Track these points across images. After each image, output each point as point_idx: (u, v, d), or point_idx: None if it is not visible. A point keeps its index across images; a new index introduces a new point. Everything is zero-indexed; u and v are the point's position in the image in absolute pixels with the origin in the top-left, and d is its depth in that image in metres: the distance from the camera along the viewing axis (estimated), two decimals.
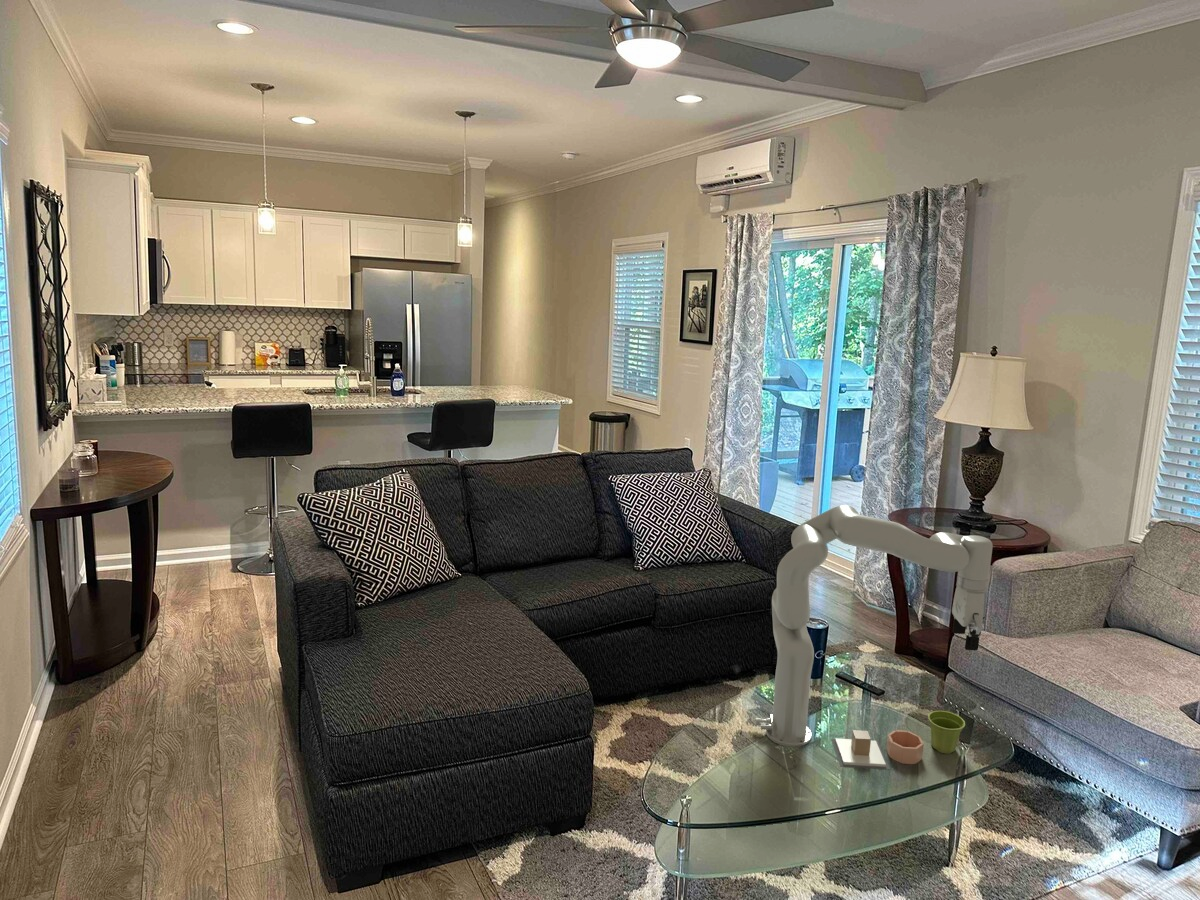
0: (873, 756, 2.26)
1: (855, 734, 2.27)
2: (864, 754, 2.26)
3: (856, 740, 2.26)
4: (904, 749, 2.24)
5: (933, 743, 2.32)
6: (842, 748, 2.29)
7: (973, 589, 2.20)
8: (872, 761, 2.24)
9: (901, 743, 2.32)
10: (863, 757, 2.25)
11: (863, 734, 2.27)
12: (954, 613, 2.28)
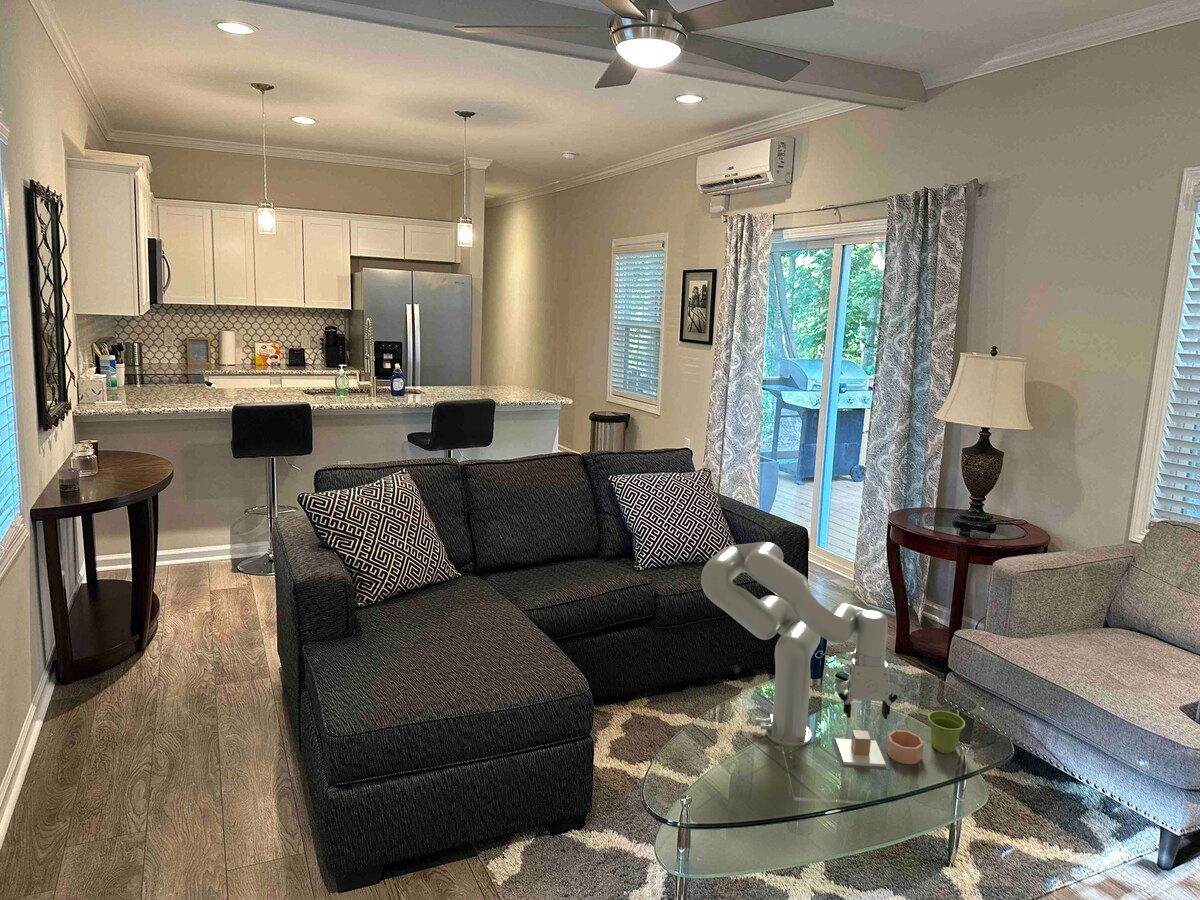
0: (873, 756, 2.26)
1: (855, 734, 2.27)
2: (864, 754, 2.26)
3: (856, 740, 2.26)
4: (904, 749, 2.24)
5: (933, 743, 2.32)
6: (842, 748, 2.29)
7: (884, 661, 2.21)
8: (872, 761, 2.24)
9: (901, 743, 2.32)
10: (863, 757, 2.25)
11: (863, 734, 2.27)
12: (862, 696, 2.21)
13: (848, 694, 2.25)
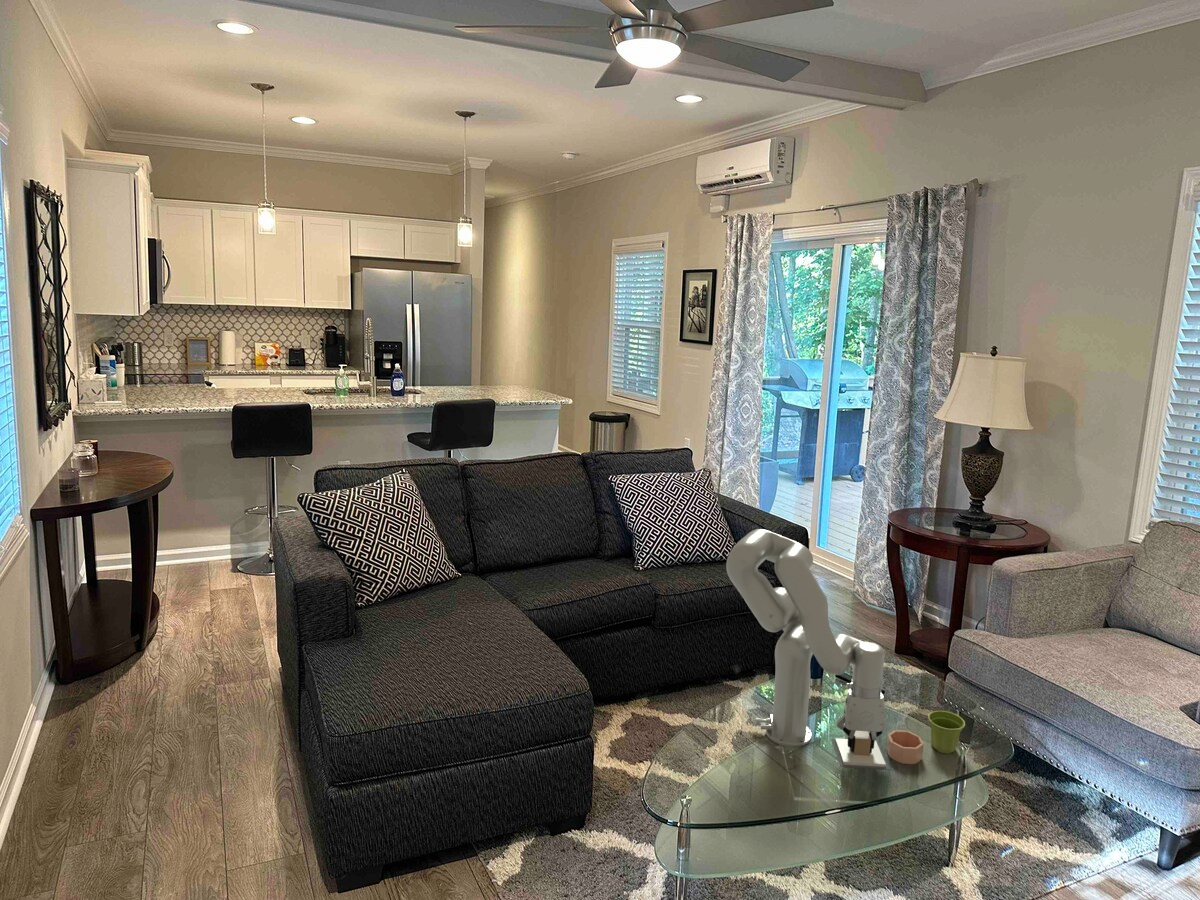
0: (873, 756, 2.26)
1: (855, 734, 2.27)
2: (864, 754, 2.26)
3: (856, 740, 2.26)
4: (904, 749, 2.24)
5: (933, 743, 2.32)
6: (842, 748, 2.29)
7: (880, 693, 2.23)
8: (872, 761, 2.24)
9: (901, 743, 2.32)
10: (863, 757, 2.25)
11: (863, 734, 2.27)
12: (858, 727, 2.24)
13: None
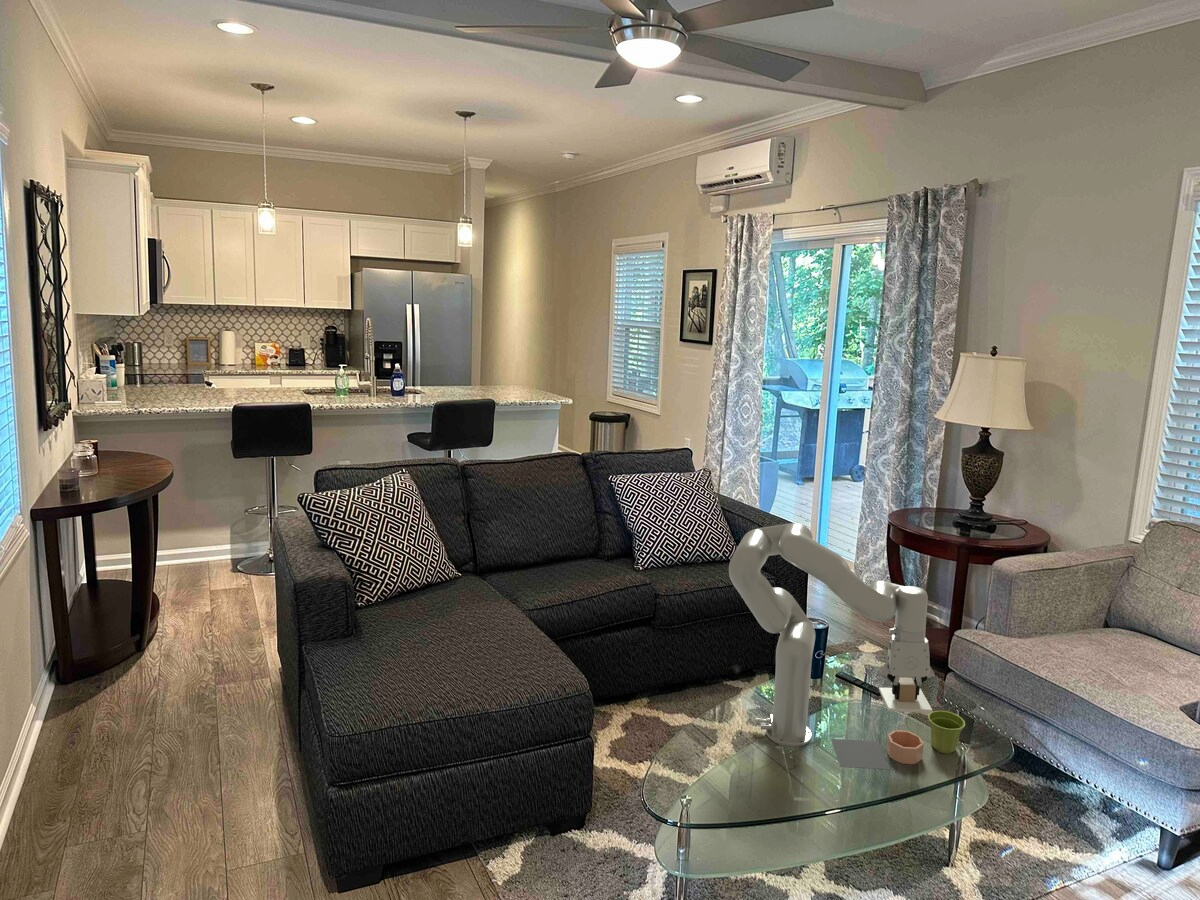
0: (919, 702, 2.22)
1: (899, 681, 2.23)
2: (909, 701, 2.22)
3: (901, 686, 2.22)
4: (904, 749, 2.24)
5: (933, 743, 2.32)
6: (886, 696, 2.25)
7: (924, 637, 2.19)
8: (918, 707, 2.20)
9: (901, 743, 2.32)
10: (909, 704, 2.21)
11: (907, 681, 2.23)
12: (902, 672, 2.20)
13: None
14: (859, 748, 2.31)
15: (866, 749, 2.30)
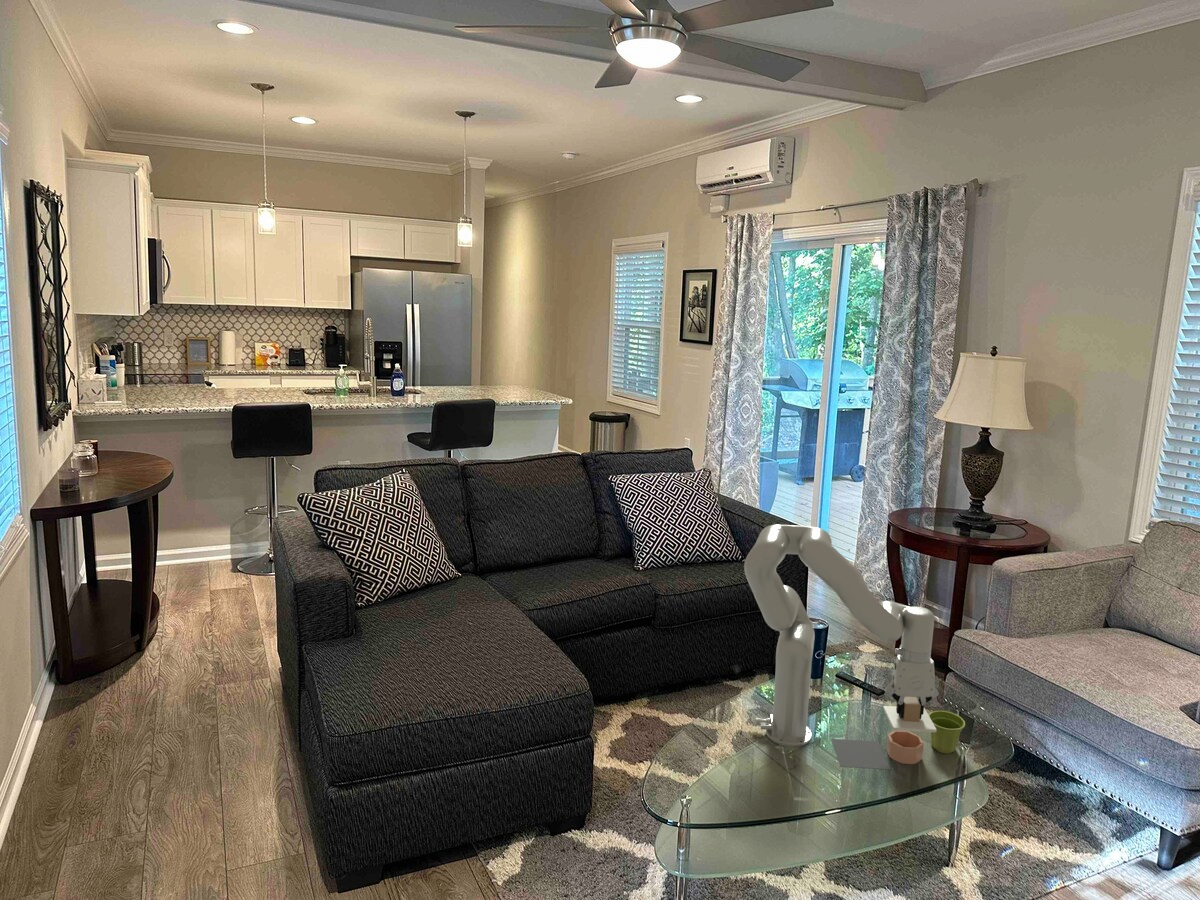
0: (923, 722, 2.24)
1: (904, 700, 2.25)
2: (914, 720, 2.24)
3: (906, 706, 2.23)
4: (904, 749, 2.24)
5: (933, 743, 2.32)
6: (891, 715, 2.27)
7: None
8: (922, 727, 2.21)
9: (901, 743, 2.32)
10: (913, 723, 2.23)
11: (912, 700, 2.25)
12: (907, 692, 2.21)
13: None
14: (859, 748, 2.31)
15: (866, 749, 2.30)
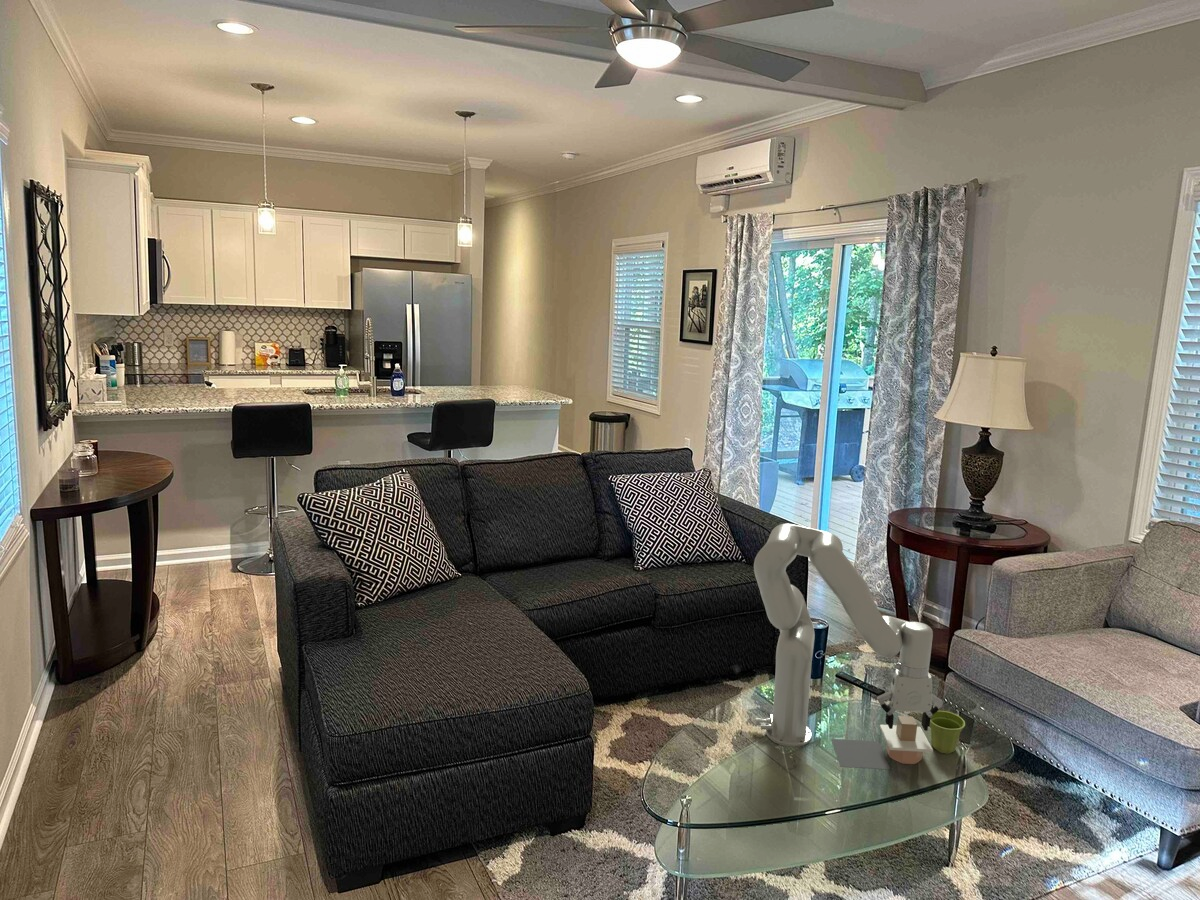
0: (919, 742, 2.25)
1: (901, 720, 2.26)
2: (910, 740, 2.25)
3: (902, 725, 2.25)
4: None
5: (933, 743, 2.32)
6: (887, 734, 2.28)
7: None
8: (919, 746, 2.23)
9: None
10: (910, 742, 2.25)
11: (909, 720, 2.26)
12: (905, 707, 2.22)
13: (890, 705, 2.27)
14: (859, 748, 2.31)
15: (866, 749, 2.30)
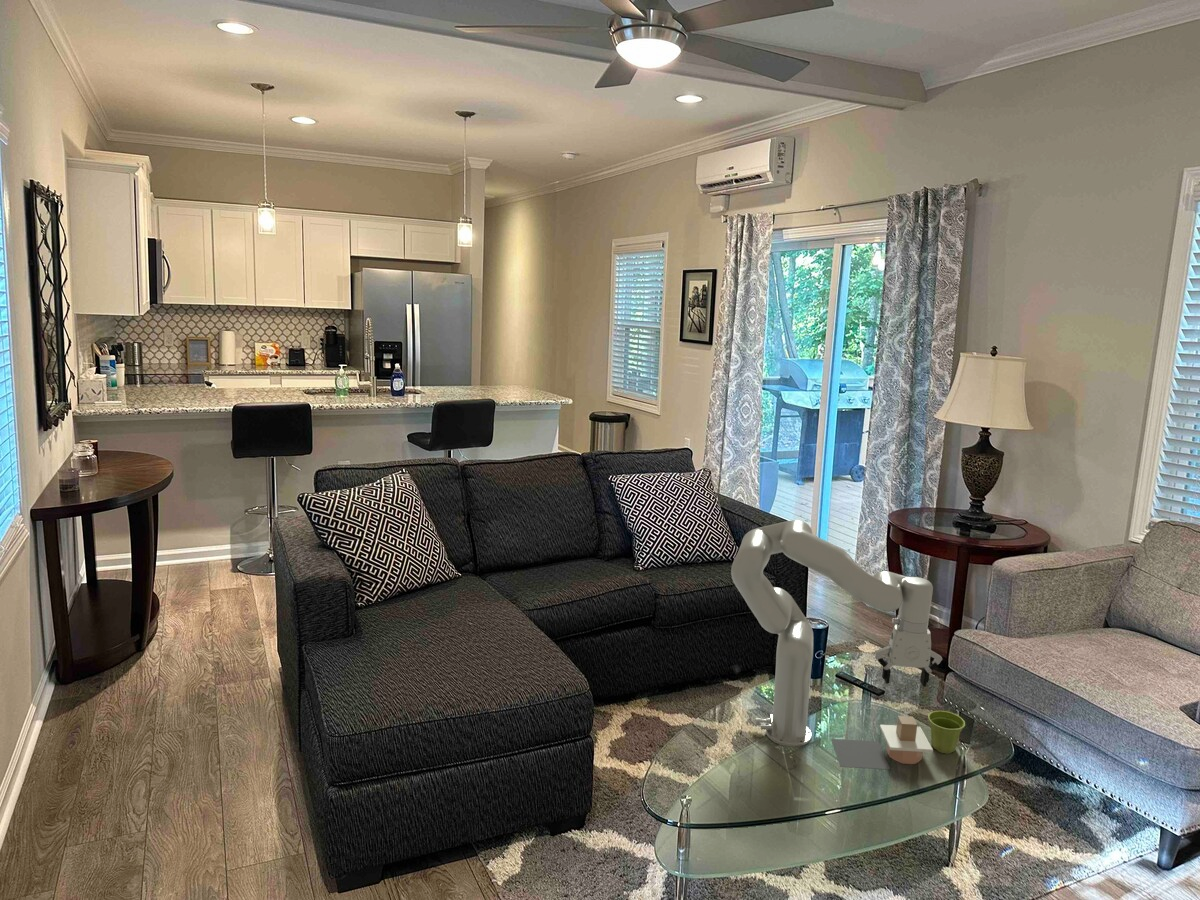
0: (919, 742, 2.25)
1: (901, 720, 2.26)
2: (910, 740, 2.25)
3: (902, 725, 2.25)
4: None
5: (933, 743, 2.32)
6: (887, 734, 2.28)
7: None
8: (919, 746, 2.23)
9: None
10: (910, 742, 2.25)
11: (909, 720, 2.26)
12: (903, 662, 2.21)
13: (888, 660, 2.26)
14: (859, 748, 2.31)
15: (866, 749, 2.30)
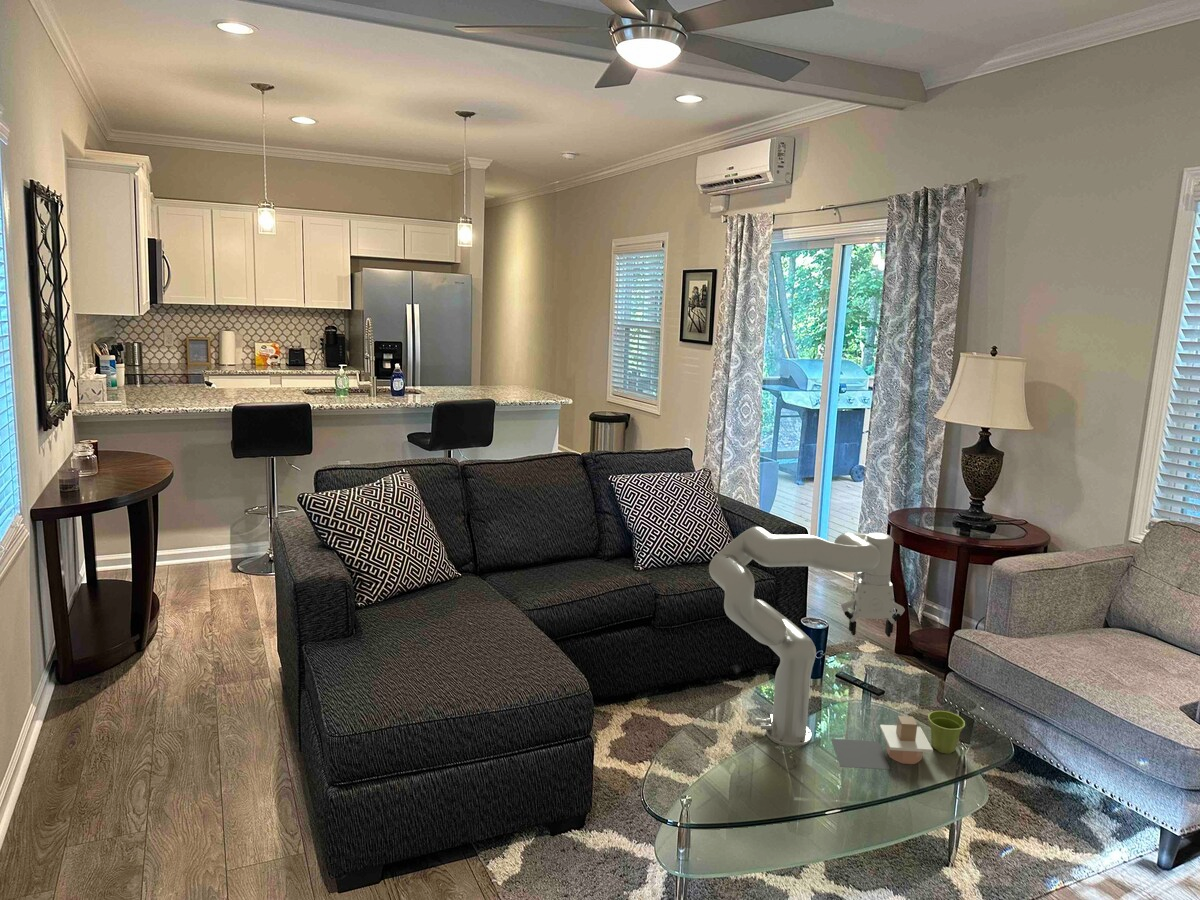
0: (919, 742, 2.25)
1: (901, 720, 2.26)
2: (910, 740, 2.25)
3: (902, 725, 2.25)
4: None
5: (933, 743, 2.32)
6: (887, 734, 2.28)
7: (889, 581, 2.32)
8: (919, 746, 2.23)
9: None
10: (910, 742, 2.25)
11: (909, 720, 2.26)
12: (868, 614, 2.33)
13: (853, 613, 2.37)
14: (859, 748, 2.31)
15: (866, 749, 2.30)
